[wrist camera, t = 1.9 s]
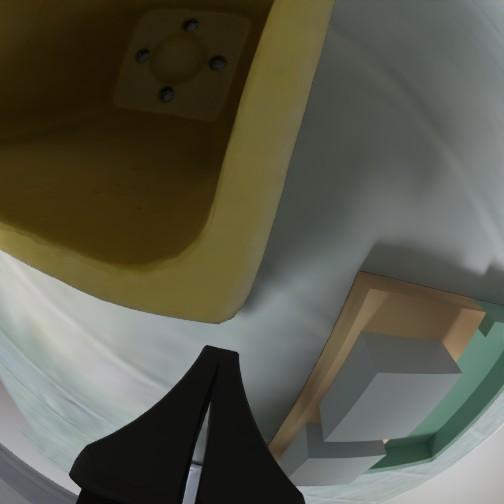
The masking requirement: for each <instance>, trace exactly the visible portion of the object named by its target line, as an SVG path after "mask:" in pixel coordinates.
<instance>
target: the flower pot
mask: <svg viewBox="0 0 504 504" xmlns="http://www.w3.org/2000/svg"><path fill="white" fill-rule="evenodd" d="M334 3H335V0H0V250H2V251H4V252H6V253H8V254H9V255H11V256H12V257H14V258H16V259H18V260H19V261H21V262H23V263H25V264H27V265H29V266H31V267H33V268H35V269H37V270H39V271H41V272H43V273H45V274H47V275H49V276H51V277H54V278H56V279H58V280H60V281H62V282H64V283H66V284H68V285H70V286H72V287H74V288H76V289H78V290H80V291H82V292H84V293H87V294H89V295H91V296H94V297H96V298H98V299H101V300H103V301H107V302H110V303H113V304H116V305H120V306H123V307H126V308H130V309H134V310H138V311H143V312H147V313H151V314H156V315H161V316H167V317H172V318H178V319H184V320H190V321H197V322H204V323H212V324H220V323H222V322H225V321H227V320H230V319H232V318H234V316H235V315H236V314H237V312H238V311H239V310H240V308H241V307H242V305H243V304H244V302H245V300H246V299H247V297H248V295H249V293H250V291H251V288H252V286H253V283H254V280H255V278H256V275H257V272H258V270H259V267H260V264H261V261H262V258H263V255H264V252H265V249H266V245H267V242H268V239H269V236H270V232H271V229H272V226H273V222H274V219H275V215H276V212H277V208H278V205H279V202H280V199H281V195H282V192H283V188H284V184H285V179H286V175H287V171H288V167H289V164H290V160H291V157H292V153H293V150H294V147H295V143H296V140H297V136H298V133H299V129H300V126H301V122H302V119H303V115H304V112H305V108H306V105H307V101H308V97H309V93H310V89H311V85H312V81H313V78H314V75H315V72H316V69H317V66H318V62H319V59H320V56H321V53H322V49H323V45H324V41H325V38H326V34H327V31H328V28H329V24H330V20H331V15H332V11H333V7H334ZM190 21H196V22H197V23H198V27H197V28H196V29H194V30H192V31H186V30H185V25H186V24H187V23H188V22H190ZM143 51H148V52H149V57H148V59H147V60H146V61H144V62H139V61H138V56H139V54H140V53H141V52H143ZM216 58H222V59H223V60H224V61H225V66H224V67H223V68H222V69H220V70H214V69H212V68H211V66H210V64H211V61H212V60H213V59H216ZM166 88H170V89H172V90H173V92H174V95H173V98H172V99H171V100H170V101H167V102H165V101H163V100H162V99H161V93H162V91H163V90H164V89H166Z"/></svg>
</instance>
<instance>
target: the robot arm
mask: <svg viewBox="0 0 504 504" xmlns="http://www.w3.org/2000/svg"><path fill="white" fill-rule="evenodd" d="M210 401H211V402H210ZM209 404H210V411H209V420H208V429H207V439H206V447H205V454H204V459H203V464H202V466H199V465H194V464H191V462H192V458H193V453H194V449H195V446H196V442H197V439H198V436H199V434H200V431H201V428H202V425H203V422H204V419H205V416H206V413H207V410H208V407H209ZM69 476H70V478H71V479H72V480H73V481H74V482H75V483H76V484H77V485H78V486H79V487H80V488H81V492H80V494H79V496H78V495H76V494H74V493H72V492H71V491H69V490H67V489H65V488H63V487H62V486H60V485H58V484H57V483H55V482H53V481H52V480H50V479H49V478H47V477H45V476H44V475H42V474H41V473H39V472H38V471H36V470H35V469H34V468H32V467H31V466H29V465H28V464H26V463H25V462H24V461H22V460H21V459H20V458H18V457H17V456H16V455H15V454H13V453H12V452H11V451H10V450H8V449H7V448H6V447H5V446H3V445H2V444H1V443H0V504H305V500H304V497H303V495H302V493H301V492H300V491H299V490H298V489H297V488H296V487H295V485H294V484H293V483H292V482H291V481H290V479H289V478H288V477H287V476H286V474H285V473H284V471H283V470H282V469H281V467H280V466H279V465H278V463H277V461H276V460H275V458H274V457H273V455H272V453H271V452H270V450H269V449H268V447H267V445H266V443H265V441H264V439H263V438H262V436H261V434H260V431H259V429H258V427H257V425H256V423H255V420H254V418H253V415H252V413H251V410H250V407H249V404H248V401H247V398H246V394H245V390H244V387H243V382H242V378H241V372H240V365H239V354H238V353H237V352H235V351H230V350H226V349H222V348H217V347H213V346H209V345H206V346H204V348H203V350H202V352H201V353H200V355H199V357H198V358H197V360H196V361H195V362H194V364H193V365H192V367H191V368H190V369H189V370H188V371H187V373H186V374H185V375H184V376H183V378H182V379H181V380H180V381H179V382H178V383H177V384H176V385H175V386H174V387H173V388H172V389H171V390H170V391H169V392H168V393H167V394H166V395H165V396H164V397H163V398H162V399H161V400H160V401H159V402H158V403H156V404H155V405H154V406H153V407H152V408H150V409H149V410H148V411H146V412H145V413H144V414H142V415H141V416H140V417H138V418H137V419H135V420H134V421H132V422H131V423H129V424H128V425H126V426H124V427H123V428H121V429H119V430H117V431H116V432H114V433H112V434H110V435H108V436H106V437H104V438H102V439H100V440H97V441H95V442H93V443H91V444H88V445H87V446H86V447H85V448H84V449H83V450H82V451H81V453H80V454H79V455H78V457H77V458H76V460H75V462H74V464H73V466H72V468H71V471H70V473H69ZM185 490H186V492H185ZM184 494H185V496H184ZM183 499H184V501H183Z"/></svg>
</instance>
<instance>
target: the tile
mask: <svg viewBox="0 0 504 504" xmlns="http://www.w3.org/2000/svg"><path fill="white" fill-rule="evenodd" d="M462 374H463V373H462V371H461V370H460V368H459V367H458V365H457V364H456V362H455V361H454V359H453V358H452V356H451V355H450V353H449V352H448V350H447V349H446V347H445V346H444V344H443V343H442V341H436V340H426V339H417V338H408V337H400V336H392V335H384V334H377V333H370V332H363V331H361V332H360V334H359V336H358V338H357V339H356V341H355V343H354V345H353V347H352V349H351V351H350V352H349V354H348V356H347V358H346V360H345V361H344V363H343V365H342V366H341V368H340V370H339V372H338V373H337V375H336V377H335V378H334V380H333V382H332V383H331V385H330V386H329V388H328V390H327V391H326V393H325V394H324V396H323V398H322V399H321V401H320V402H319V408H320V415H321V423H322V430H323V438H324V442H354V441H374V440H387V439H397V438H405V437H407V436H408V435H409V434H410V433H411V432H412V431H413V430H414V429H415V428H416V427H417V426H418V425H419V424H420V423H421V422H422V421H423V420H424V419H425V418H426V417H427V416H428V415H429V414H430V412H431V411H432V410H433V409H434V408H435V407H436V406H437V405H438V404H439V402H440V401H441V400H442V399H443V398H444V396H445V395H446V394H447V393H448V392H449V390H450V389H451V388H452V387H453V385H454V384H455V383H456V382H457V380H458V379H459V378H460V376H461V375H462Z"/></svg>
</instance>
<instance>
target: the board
mask: <svg viewBox="0 0 504 504" xmlns="http://www.w3.org/2000/svg"><path fill="white" fill-rule="evenodd" d="M485 314H486V312H485V311H484V310H483V309H482V308H481V307H480V306H479V305H478V304H477V303H476V302H475V301H474V300H473V299H472V298H469V297H465V296H461V295H457V294H453V293H449V292H445V291H441V290H436V289H432V288H428V287H424V286H420V285H416V284H412V283H407V282H403V281H399V280H395V279H391V278H387V277H382V276H378V275H374V274H370V273H366V272H361V271H358V273H357V275H356V278H355V280H354V283H353V285H352V288H351V290H350V293H349V295H348V297H347V300H346V302H345V304H344V307H343V309H342V311H341V314H340V316H339V318H338V320H337V322H336V325H335V327H334V329H333V331H332V333H331V335H330V337H329V340H328V342H327V344H326V346H325V348H324V350H323V352H322V354H321V356H320V358H319V360H318V362H317V364H316V366H315V368H314V369H313V371H312V373H311V375H310V377H309V379H308V381H307V383H306V384H305V386H304V388H303V390H302V392H301V393H300V395H299V397H298V399H297V400H296V402H295V404H294V406H293V407H292V409H291V411H290V412H289V414H288V416H287V417H286V419H285V421H284V422H283V424H282V426H281V427H280V429H279V430H278V432H277V434H276V435H275V437H274V438H273V440H272V441H271V443H270V444H269V446H268V449H269V450H270V452H271V453H272V455H273V457H274V458H275V460H276V461H277V463H278V465H279V466H280V456H281V455H282V453H283V452H284V451H285V450H286V448H287V447H288V446H289V444H290V443H291V442H292V440H293V439H294V438H295V436H296V435H297V434H298V432H299V431H300V430H301V428H302V427H303V425H304V424H305V423H321V415H320V408H319V402H320V401H321V399H322V398H323V396H324V394H325V393H326V391H327V390H328V388H329V386H330V385H331V383H332V382H333V380H334V378H335V377H336V375H337V373H338V372H339V370H340V368H341V366H342V365H343V363H344V361H345V360H346V358H347V356H348V354H349V352H350V351H351V349H352V347H353V345H354V343H355V341H356V339H357V338H358V336H359V334H360V332H361V331H363V332H370V333H377V334H384V335H392V336H400V337H408V338H417V339H426V340H436V341H442V343H443V344H444V346H445V347H446V349H447V350H448V352H449V353H450V355H451V356H452V358H453V359H454V361H455V362H456V361H457V360H458V358H459V357H460V355H461V354H462V352H463V351H464V349H465V348H466V346H467V345H468V343H469V342H470V340H471V338H472V337H473V335H474V333H475V332H476V330H477V328H478V327H479V325H480V323H481V321H482V320H483V318H484V316H485ZM321 424H322V423H321ZM388 440H389V439H387V440H383V443H384V444H385V443H386V442H387V441H388Z"/></svg>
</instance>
